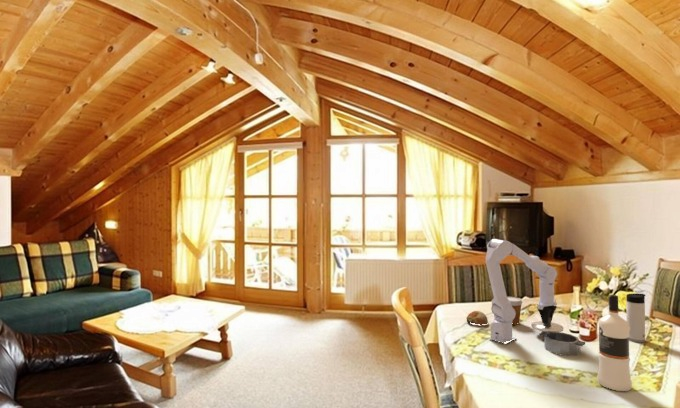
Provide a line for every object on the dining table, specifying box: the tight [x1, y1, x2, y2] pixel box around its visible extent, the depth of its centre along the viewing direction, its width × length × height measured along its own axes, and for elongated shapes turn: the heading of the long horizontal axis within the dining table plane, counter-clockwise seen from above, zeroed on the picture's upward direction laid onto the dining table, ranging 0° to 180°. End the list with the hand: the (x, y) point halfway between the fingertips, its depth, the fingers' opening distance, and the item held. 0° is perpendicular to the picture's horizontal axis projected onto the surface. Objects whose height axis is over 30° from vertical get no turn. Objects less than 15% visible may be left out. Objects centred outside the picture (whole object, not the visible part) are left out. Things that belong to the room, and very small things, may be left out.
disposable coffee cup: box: [507, 296, 523, 324], centre depth 187 cm, size 10×10×12 cm
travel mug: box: [625, 292, 646, 344], centre depth 162 cm, size 6×7×20 cm
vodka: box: [596, 294, 633, 392], centre depth 124 cm, size 9×9×30 cm
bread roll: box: [466, 310, 489, 325], centre depth 187 cm, size 10×10×8 cm
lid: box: [531, 317, 565, 333], centre depth 168 cm, size 13×13×6 cm
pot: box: [538, 331, 586, 357], centre depth 154 cm, size 12×16×5 cm
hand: (546, 322), depth 168 cm, fingers closed on lid, 3 cm apart
